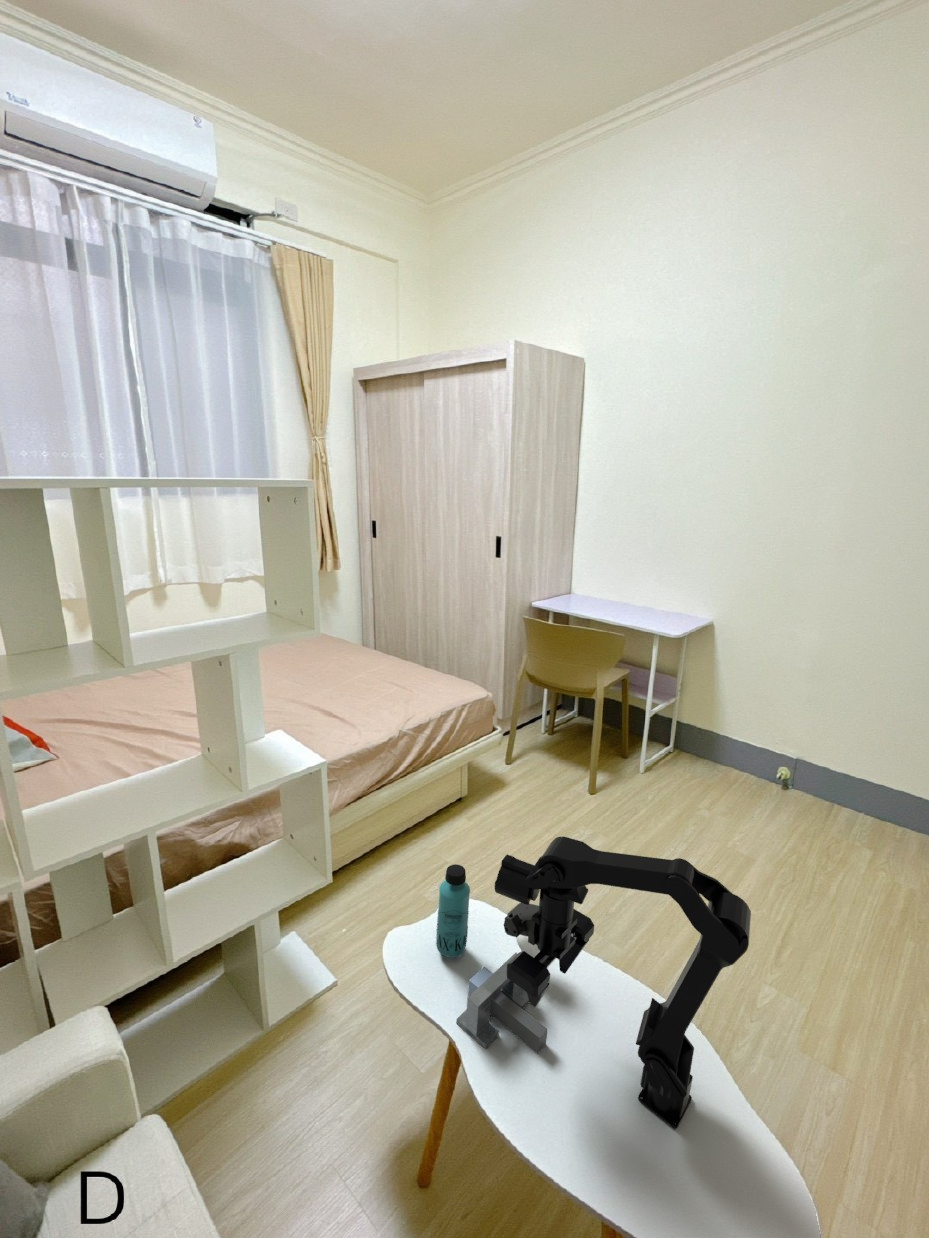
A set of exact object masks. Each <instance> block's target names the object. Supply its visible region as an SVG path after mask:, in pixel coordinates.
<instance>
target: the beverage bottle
mask: <svg viewBox="0 0 929 1238" xmlns="http://www.w3.org/2000/svg"><path fill="white" fill-rule="evenodd" d="M444 878H445V880H443V881H442V882H441V883H440V885H439V887H438V888H439V890H438V891H439V895H438V908H437V909H438V910H437V919H436V921H437V922H436V931H435V932H436V933H435V935H436V936H435V937H436V941H435V946H436V949H437V951H438V952H439V954H440V955H443V956H444V957H445V958H458V957H460V956H461V955H463V953H464V952H465V950H466V948H467V943H468V941H467V940H468V933H469V932H468V931H469V930H468V929H469V926H468V925H469V914H470V913H469V912H470V911H469V907H470V906H469V905H470V893H471V887H470V885H469V884H468V883H467V881H466V880H467V876H466V868H465V867H464V866H462V865H461V864H455V863H454V864H451V865H449V866H448V867H447V868H446V871H445V877H444Z"/></svg>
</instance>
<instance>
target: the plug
mask: <svg viewBox="0 0 929 1238" xmlns="http://www.w3.org/2000/svg"><path fill="white" fill-rule="evenodd" d="M493 973H494V972H492V971H491V970H490V969H488V968H487V967H486V966H483V967H482V968H481V969H480V970H479V971H478V972H477V973H475V974H474V975H473V976H472V977H471V978H470V979H469V980H468V993H467V998H468V997H469V996H470V995H471V994H472V993H473V992H474V991H475V990H476V989H477V988H478V987H480V986H481V985H482V984H483V983H484V982H485V981H486V980H487V979H488V978H489V977H490V976H491V975H492V974H493ZM490 1016H491V1017H493V1018H494V1019H495V1020H496V1021H498V1022H499V1023H500V1024H502V1026H504V1027H505V1028H506V1029H507V1030H508V1031H510V1032H511V1033H512V1034H513V1035H514V1036H516V1037H518V1039H520V1041H522V1042H523V1043H524V1044H526V1045H527V1046H528V1047H529V1048H530V1049H531V1050H533V1052H535V1053H536V1054H537V1055H538V1054H539V1053H540V1052H541V1051H542V1050H543V1049H544V1048H545V1046H546V1045H547V1038H548V1028H547V1027H546V1026H545V1025H544V1024H542V1023H541V1022H540V1021H538V1019H536V1018H535V1017H533V1016H532V1015H531V1014H529V1013H528V1012H527V1011H526V1010H525V1009H522V1008H521V1007H519V1006H518V1005H517V1004H515V1003H514V1002H513V1001H512V1000H510V999H509V998H508V997H507V996H505V995H504V994H503V993H502V992H500V991H499V992H498V993H497V994H496V995H495V996H494V997H493V998H492V999H491V1008H490Z"/></svg>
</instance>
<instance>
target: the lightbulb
mask: <svg viewBox="0 0 929 1238" xmlns="http://www.w3.org/2000/svg"><path fill="white" fill-rule="evenodd" d="M515 939H516V943H517V945H518V947H519V949H520V952H522V951H525V952H526V953H528V954H529V955H531V956H532V957H535V956H536V955H537V954H538V953H539V952H540V950H539V949H538V947H537V945H536V944H535V945H532V944H530V943H529V942H528V936H523V935H519V936H518V937H515Z"/></svg>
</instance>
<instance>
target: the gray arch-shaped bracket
mask: <svg viewBox="0 0 929 1238" xmlns="http://www.w3.org/2000/svg"><path fill="white" fill-rule="evenodd" d="M517 954H518V952H514V954H512V955H511V956H510V957H509V958H508V959H507V960H506V961H505V962H504V963H503V964H502V965H501V966H500V967H499V968H497V969H496V971H495V972H492V973H493V974H492V975H491V976H490V977H489V978H488V979H487V980H486V981H485V982H484V983H483V984H482V985H481V986H480V987H478V988H477V989H476V990H475V991H474V992H473V993H472V994H471V995H470V996H469V997H468V996H467V1003H466V1009H465V1010H464V1011H463V1012H462V1013H461V1014H460V1015H459V1016H458V1017H456V1021H455V1022H456V1024H457V1026H458V1027H460V1028H461V1029H462V1030H463V1031H465V1032H466V1034H468V1036H470V1037H471V1038H472V1039H473V1040H474V1041H475V1042H477V1043H478V1044H479V1045H480V1046H481V1047H482V1048H483V1049H484V1050H487V1049H488V1047H490V1045H492V1043H493V1042H494V1041H495V1040H496V1039H497V1038H498V1037H499V1036H500V1030H498V1028H497V1027H495V1026H493V1024H491V1023H490V1020H491V1019H490V1018H491V1014H490V1008H491V999H492V998H493V997H494V996H495V995H496V994H497V993H498V992H499V991H500V992H502V993H503V994H504V995H505V996H507V997H508V998H509V999H510V1000H512V1001H513V1002H514V1003H515V1004H517V1005H518V1006H519V1007H521V1008H522V1009H523V1010H525V1008H526V1007H527V1006H528V1005H529V1004H530V1001H529V998H528V995H527V992H526V991H525V990H523V989H522V988H520V987H519V986H518V985H516V984H515V983H514V982H512V981H511V980H510V979H508V978H507V975H506V971H507V964H508V963H509V962H510V961H511V960H512V959H513V958H514V957H515V956H516V955H517Z"/></svg>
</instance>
